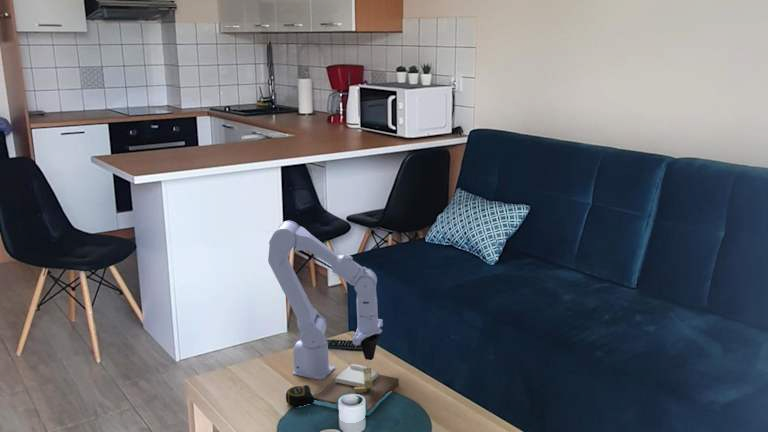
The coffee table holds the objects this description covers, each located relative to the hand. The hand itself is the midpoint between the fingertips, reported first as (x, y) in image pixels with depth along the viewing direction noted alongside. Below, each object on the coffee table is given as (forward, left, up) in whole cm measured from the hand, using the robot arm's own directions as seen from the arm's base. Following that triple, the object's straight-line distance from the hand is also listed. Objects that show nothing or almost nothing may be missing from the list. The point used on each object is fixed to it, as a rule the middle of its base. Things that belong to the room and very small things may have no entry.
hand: (369, 358), depth 198 cm
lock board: (+3, -13, -4) cm, 14 cm away
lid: (+1, -9, -2) cm, 9 cm away
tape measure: (-8, -22, -4) cm, 24 cm away
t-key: (+6, -15, -2) cm, 16 cm away
